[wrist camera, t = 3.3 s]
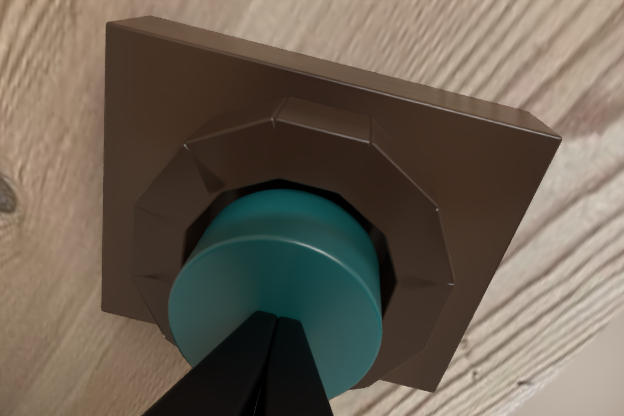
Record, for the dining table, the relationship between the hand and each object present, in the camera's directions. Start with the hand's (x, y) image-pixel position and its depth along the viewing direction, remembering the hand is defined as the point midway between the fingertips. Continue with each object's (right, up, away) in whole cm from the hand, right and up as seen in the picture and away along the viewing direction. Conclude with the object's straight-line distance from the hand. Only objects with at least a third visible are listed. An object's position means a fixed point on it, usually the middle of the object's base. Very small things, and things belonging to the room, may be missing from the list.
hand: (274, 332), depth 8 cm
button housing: (0, +3, +5) cm, 6 cm away
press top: (0, +1, +2) cm, 2 cm away
